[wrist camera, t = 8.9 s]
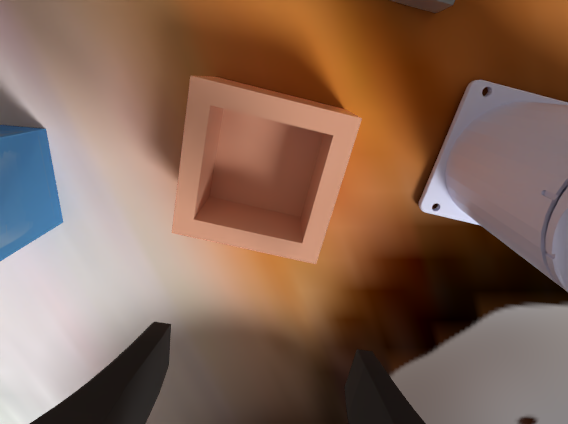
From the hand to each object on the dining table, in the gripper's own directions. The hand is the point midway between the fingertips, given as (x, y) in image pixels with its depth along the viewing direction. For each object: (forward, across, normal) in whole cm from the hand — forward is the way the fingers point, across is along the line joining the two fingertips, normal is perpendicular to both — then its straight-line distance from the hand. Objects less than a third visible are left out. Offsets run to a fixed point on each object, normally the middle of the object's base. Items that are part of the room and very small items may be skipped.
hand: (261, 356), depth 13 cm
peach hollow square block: (+10, +1, -5) cm, 12 cm away
